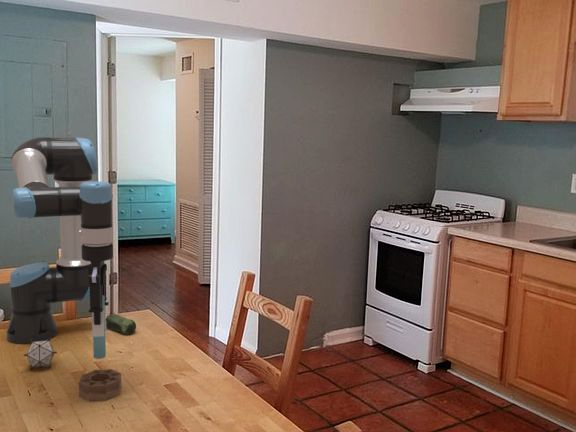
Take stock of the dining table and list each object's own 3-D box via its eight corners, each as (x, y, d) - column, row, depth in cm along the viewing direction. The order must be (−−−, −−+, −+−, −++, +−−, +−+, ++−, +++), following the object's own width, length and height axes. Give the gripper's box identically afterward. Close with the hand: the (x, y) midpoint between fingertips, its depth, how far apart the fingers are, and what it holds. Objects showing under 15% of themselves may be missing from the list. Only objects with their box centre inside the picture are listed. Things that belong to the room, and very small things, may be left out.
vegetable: (139, 333, 192) (139, 319, 191) (126, 337, 187) (126, 323, 187) (114, 324, 200) (113, 310, 199) (101, 327, 196) (101, 313, 195)
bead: (84, 384, 152) (83, 370, 152) (122, 382, 154) (122, 368, 153) (76, 402, 143) (76, 387, 142) (118, 399, 144) (117, 385, 144)
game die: (44, 381, 162) (41, 363, 155) (19, 368, 163) (14, 349, 156) (64, 357, 168) (62, 338, 161) (40, 344, 169) (37, 326, 162)
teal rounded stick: (94, 354, 148) (93, 295, 145) (106, 354, 148) (105, 294, 146) (92, 359, 145) (91, 298, 143) (105, 358, 145) (103, 298, 143)
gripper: (87, 237, 149) (89, 323, 153) (75, 250, 134) (78, 345, 137) (116, 237, 151) (118, 322, 154) (108, 249, 135) (110, 344, 138)
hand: (99, 333), depth 146 cm, fingers closed on teal rounded stick, 3 cm apart
